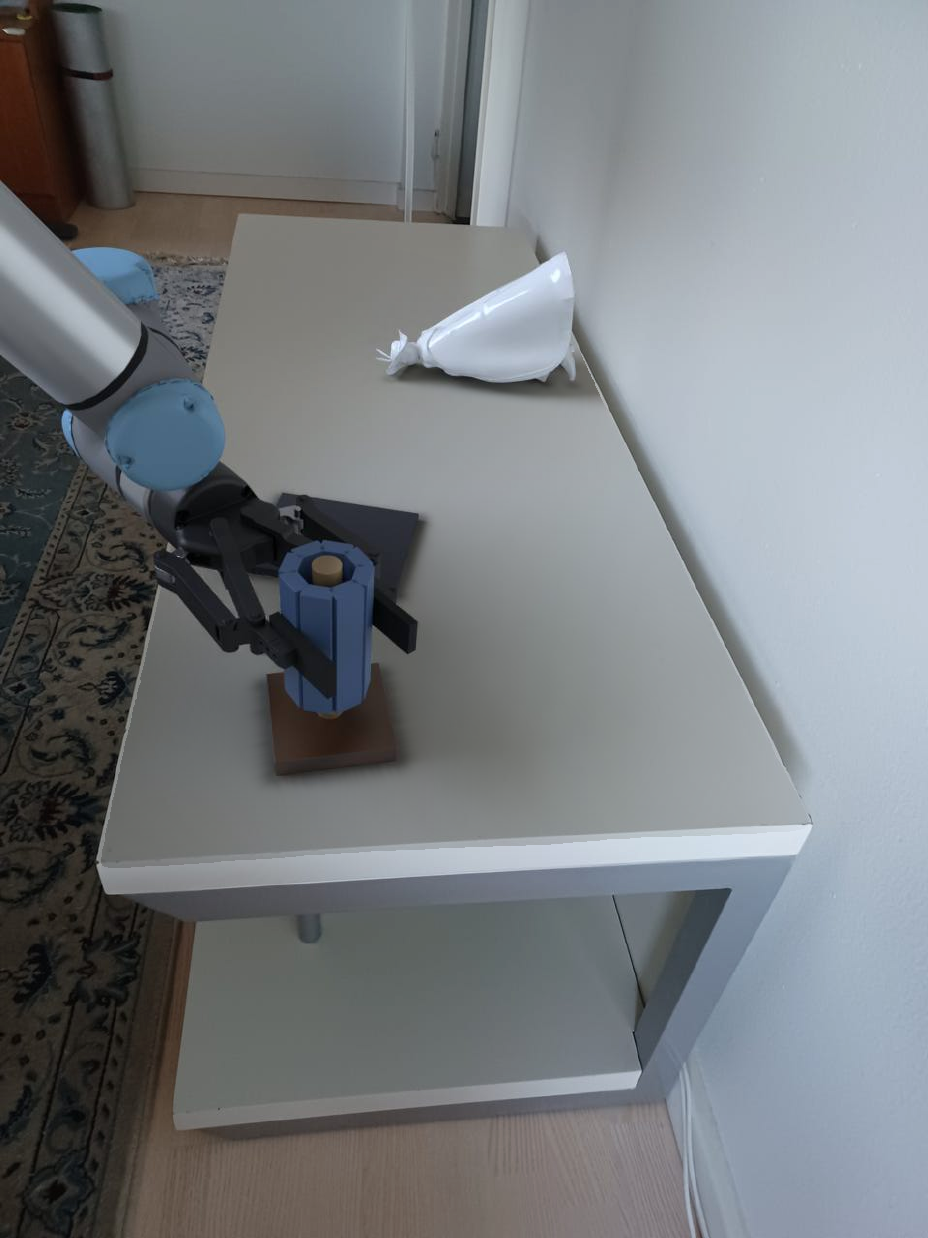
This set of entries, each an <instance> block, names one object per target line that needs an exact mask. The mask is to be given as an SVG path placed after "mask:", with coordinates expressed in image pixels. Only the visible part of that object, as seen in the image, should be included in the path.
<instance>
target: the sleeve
mask: <svg viewBox="0 0 928 1238" xmlns="http://www.w3.org/2000/svg"><path fill="white" fill-rule="evenodd" d="M325 555H329V556H334V557H337V558H338V559H339V560H340V561H341V562H342V584H340V585H337V586H334V587H332V588H329V587H323V586H316V585H312V563H313V561H314V560H315V559H316V558H318V557H320V556H325ZM374 569H375V567H374V566H373V562H372V561H371V560H370V559H369V558H368V557H367V556H366V555H365V554H364V553H363V552H362V551H361V550H360V549H359V548H358V547H355V548H353V545H351V544H345V543H339V542H333V541H327V540H323V541H322V544H321V543H320V542H319V541H314V542H311V543H309V544H306V545H303V546H300V547H297V548H294V549H291V553H287V554H286V556H285V558H284V561H283V563H282V565H281V567H280V569H279V571H278V572H279V577H278V586H279V587H278V589H279V604H280V613H281V614H282V615H283V616H284V617H285V618H286V619H287V620H288V621H289V622H290V623H291V624H293V625H294V627H295V628H297V629H298V630H299V631H300V632H301V633H302V634H303V635H304V636H306V637H307V638H308V639H309V640H310V641H311V642H312V643H313V644H314V645H315V646H316V647H317V648H319V649H320V650H321V651H322V652H323V653H324V654H325V655H326V656H327V657H328V658H329V659H330V660H331V661H333V662H334V663H335V664H336V665H337V695H335V696H333V697H331V698H329V699H328V700H327V699H326V698H325V697H324V696H323V695H322V694H321V693H320V692H319V691H318V690H317V689H316V688H315V687H314V686H313V685H312V684H311V683H310V682H309V681H308V680H307V679H306V678H305V677H304V676H303V675H302V674H300V673H299V672H298V671H297V670H296V669H295V668H294V667H293V666H291V667H289V668H287V669H283V672H284V681H285V690H286V692H287V693H288V694H289V696H290V697H291V698H292V699H293V701H294V702H295V703H296V704H297V706H298V707H299V708H301V707H304V710H306V711H312V712H318V713H324V714H329V715H332V713H333V710H334V712H335V713H336V714H339V713H341V712H343V711H345V710H348V709H350V708H352V707H354V706H356V705H358V704H361V700H365V697H366V693H367V690H368V687H369V683H370V679H371V663H372V649H373V625H372V624H373V597H374Z"/></svg>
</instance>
